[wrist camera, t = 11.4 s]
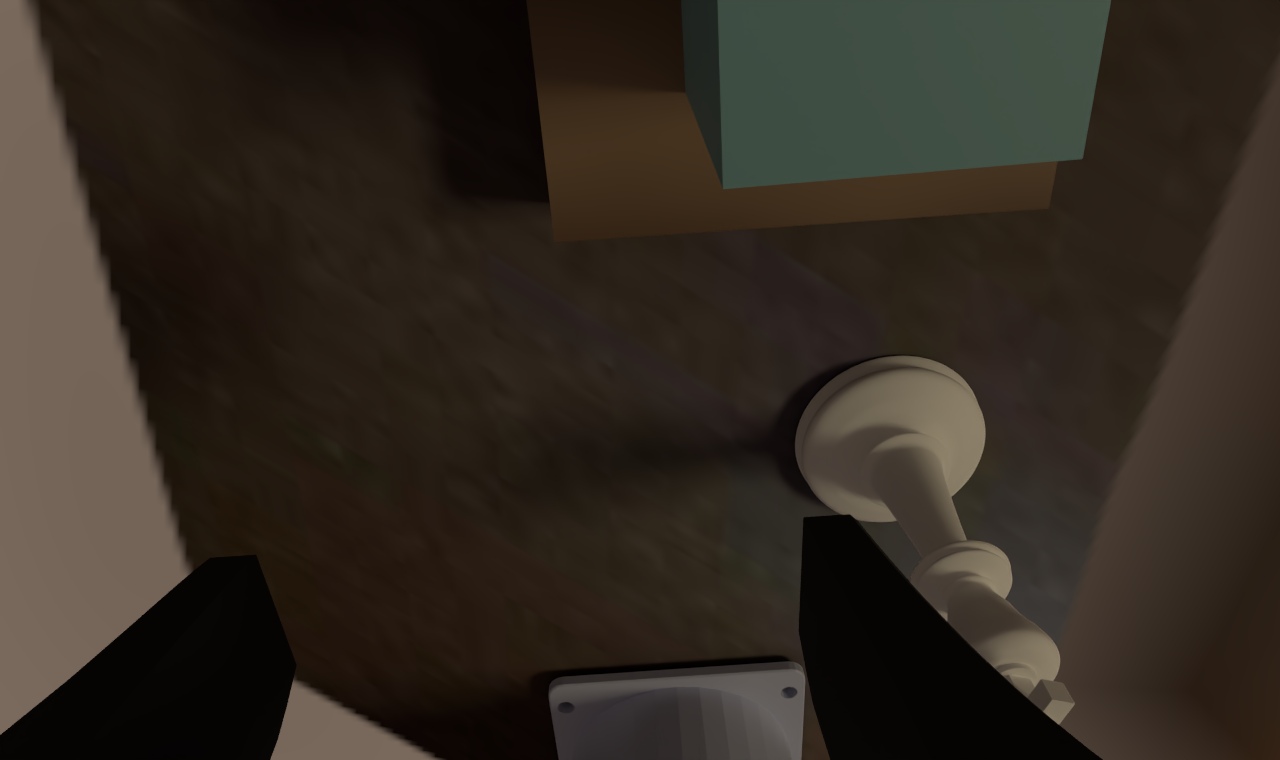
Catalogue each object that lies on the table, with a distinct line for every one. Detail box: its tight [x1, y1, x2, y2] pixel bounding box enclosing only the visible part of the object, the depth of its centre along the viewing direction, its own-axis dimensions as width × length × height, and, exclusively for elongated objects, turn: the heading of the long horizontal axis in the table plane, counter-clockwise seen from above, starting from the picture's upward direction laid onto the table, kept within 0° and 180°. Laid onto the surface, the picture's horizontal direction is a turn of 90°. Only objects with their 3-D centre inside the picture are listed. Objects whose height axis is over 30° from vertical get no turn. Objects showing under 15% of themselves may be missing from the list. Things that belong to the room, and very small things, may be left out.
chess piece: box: [795, 356, 1075, 725], centre depth 19 cm, size 5×5×10 cm
